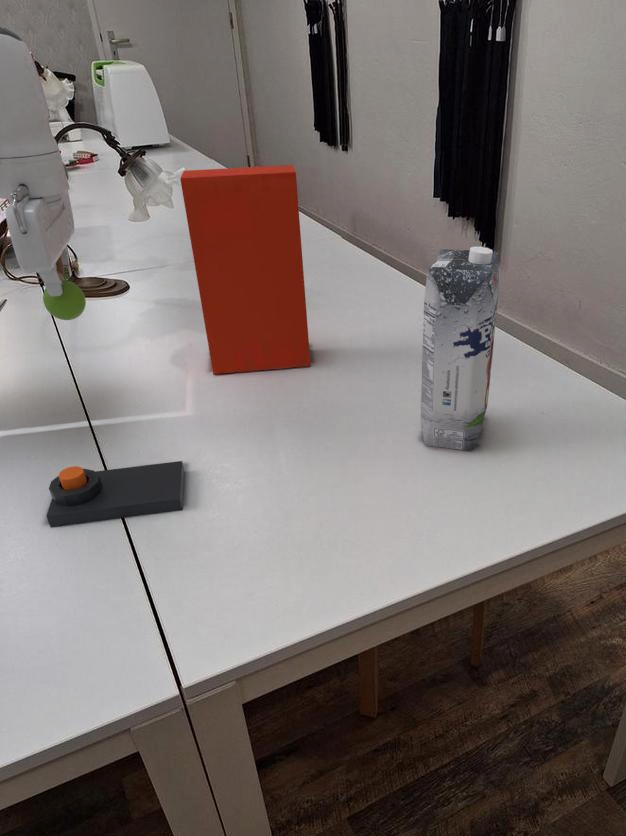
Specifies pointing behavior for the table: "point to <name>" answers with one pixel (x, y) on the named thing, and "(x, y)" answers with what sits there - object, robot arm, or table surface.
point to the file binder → (249, 266)
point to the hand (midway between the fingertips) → (61, 286)
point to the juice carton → (458, 346)
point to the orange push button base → (118, 494)
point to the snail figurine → (65, 298)
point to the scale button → (72, 478)
